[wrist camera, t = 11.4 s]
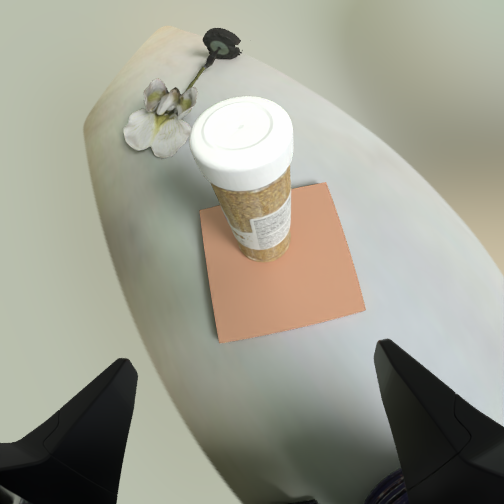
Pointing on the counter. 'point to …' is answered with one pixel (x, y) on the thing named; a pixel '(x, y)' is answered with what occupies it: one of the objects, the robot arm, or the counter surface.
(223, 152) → the sprinkles bottle
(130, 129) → the artificial flower
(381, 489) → the storage jar
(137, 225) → the counter surface
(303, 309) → the terracotta tile
